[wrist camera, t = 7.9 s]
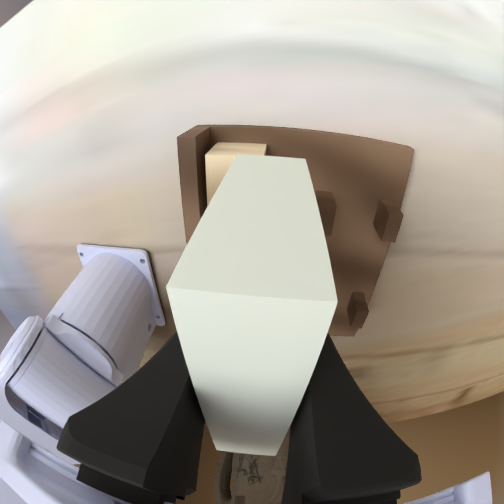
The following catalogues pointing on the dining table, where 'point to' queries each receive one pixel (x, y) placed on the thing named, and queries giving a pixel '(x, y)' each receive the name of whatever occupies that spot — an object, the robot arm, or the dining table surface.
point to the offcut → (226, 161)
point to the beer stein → (251, 477)
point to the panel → (254, 301)
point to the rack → (322, 199)
